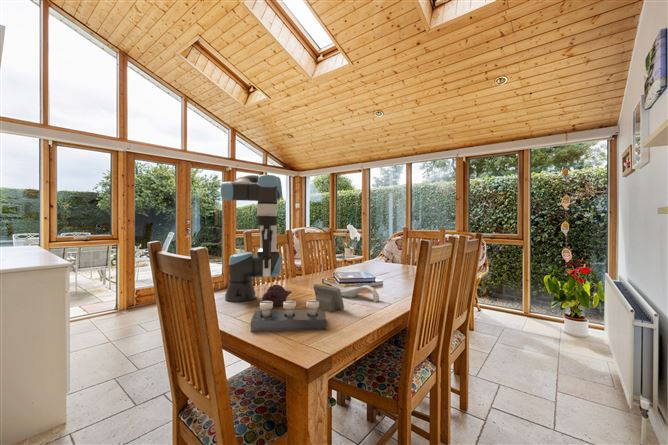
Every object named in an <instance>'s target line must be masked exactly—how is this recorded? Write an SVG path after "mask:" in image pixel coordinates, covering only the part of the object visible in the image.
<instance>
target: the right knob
mask: <svg viewBox="0 0 668 445" xmlns="http://www.w3.org/2000/svg"><path fill="white" fill-rule="evenodd" d="M305 303H306V304H305V305H306V308H307V309H308V310H309V316H316V310H317V309H319V301H316V299H313V300H310V299H309V300H307V301H306V302H305Z"/></svg>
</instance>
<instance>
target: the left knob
mask: <svg viewBox="0 0 668 445" xmlns="http://www.w3.org/2000/svg"><path fill="white" fill-rule="evenodd" d="M273 308H274V304H273V302H272V301H263V300H262V301H260V302H259V309H260V310H261V311H262V317H270V311H271V310H272V309H273Z"/></svg>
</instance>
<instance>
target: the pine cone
mask: <svg viewBox="0 0 668 445" xmlns="http://www.w3.org/2000/svg"><path fill="white" fill-rule="evenodd" d="M291 294H292V291H290V290H286V289H285V288H284V287H283V286H282V285H280V284H273V285H271V286H269V287H268V288H267V290H266V292H264V294H263V296H262V297H261V301H262V302H263V301H272V302H273V305H276V306H282V305H283V302H285V301H287V298H288V297H289V296H290V295H291Z"/></svg>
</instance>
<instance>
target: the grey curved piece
mask: <svg viewBox="0 0 668 445" xmlns="http://www.w3.org/2000/svg"><path fill="white" fill-rule="evenodd" d="M339 289H340V291H341V295H342V297H344V298H355V297H356V296H357V295H358V294H359V293H360V292H361V291H363V290H365V289H366V290H368V291H369V292H371V293H372V296H373V302H374V303H376V302H378V301H380V295H379V293H378V291H377V290H376V289H375V288H374V287H372V286H370V285H362V286H356V287H355V286H354V287H353V286H352V287H351V286H349V287H341V288H339Z"/></svg>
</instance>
